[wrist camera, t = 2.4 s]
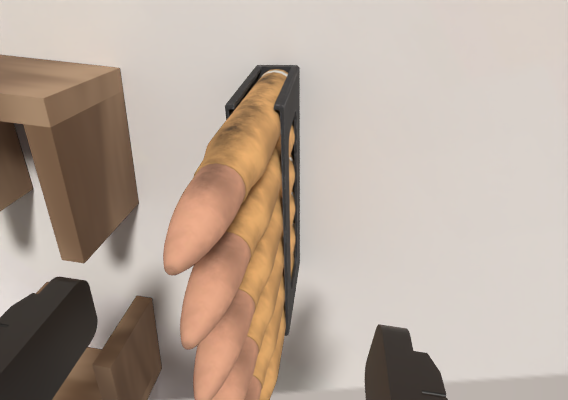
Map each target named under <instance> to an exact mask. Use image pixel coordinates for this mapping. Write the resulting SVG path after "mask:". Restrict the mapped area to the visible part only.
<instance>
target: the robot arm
mask: <svg viewBox="0 0 568 400" xmlns="http://www.w3.org/2000/svg"><path fill="white" fill-rule="evenodd" d="M96 328H97V315H96V311H95V307H94V303H93V299H92V295H91V291H90V287H89V284H88V282H87V281H85V280H78V279H71V278H64V277H56V278H54V279H52V280H51V281H50V282H49V283H48V284H47V285H46V286H45V287H44V288H43V290H42V291H41V292H40V293H39V294H36V293H32V294H30V295H29V296H27V297H26V298H24V299H22V300H21V301H19V302H17V303H16V304H14V305H13V306H11V307H10V308H9V309H8V310H7V311H6V312H5V313H4V314H3V315H2V316H1V317H0V400H52V399H53V397H54V396H55V394H56V393H57V392H58V390H59V389H60V387H61V386H62V384H63V383H64V381H65V380H66V378H67V377H68V375H69V374H70V372H71V371H72V369H73V368H74V366H75V365H76V363H77V362H78V360H79V359H80V357H81V356H82V354H83V353H84V351H85V350H86V348H87V347H88V345H89V344H90V342H91V341H92V339H93V337H94V335H95V332H96ZM365 393H366V400H448V399H447V398H446V392H445V388H444V384H443V380H442V377H441V373H440V371H439V370H438V368H437V367H436V365H435V364H434V362H433V361H432V359H431V358H430V356H429V355H428V353H423V352H416V351H413V347H412V342H411V338H410V333H409V331H408V329H406V328H400V327H393V326H386V325H378V326H377V328H376V331H375V334H374V338H373V341H372V344H371V348H370V351H369V354H368V358H367V361H366V367H365Z"/></svg>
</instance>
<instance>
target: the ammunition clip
mask: <svg viewBox="0 0 568 400" xmlns="http://www.w3.org/2000/svg"><path fill="white" fill-rule="evenodd" d="M225 111H226V122H225V123H224V124H223V125H222V127H221V128H220V129H219V130H218V132H217V133H216V134H215V135H214V137H213V138H212V139H211V141H210V142H209V144H208V146H207V149H206V152H205V156H204V160H203V161H202V163H201V164H200V166H199V167H198V169H197V171H196V172H195V174H194V178H193V179H192V180H191V182H190V183H189V185H188V186H187V188H186V189H185V191H184V192H183V194H182V196H181V198H180V200H179V202H178V204H177V206H176V208H175V210H174V213H173V215H172V218H171V221H170V224H169V227H168V232H167V236H166V240H165V245H164V253H163V261H164V269H165V271H166V273H167V274H169V275H177V274H179V273H181V272H183V271H185V270H187V269H189V268H190V267H192V266H193V265H194V266H193V269H192V272H191V275H190V278H189V281H188V285H187V288H186V292H185V296H184V301H183V306H182V313H181V320H180V333H181V342H182V346H183V347H184V348H185V349H187V350H189V349H193V348H194V347H195V346H197V345H198V346H197V351H196V357H195V366H194V376H193V388H194V398H195V400H270V397H271V395H272V392H273V389H274V387H275V384H276V381H277V377H278V372H279V366H280V360H281V354H282V348H283V342H284V336H287V335H288V334H289V330H290V323H291V317H292V310H293V303H294V297H295V290H296V284H297V277H298V270H299V264H300V138H299V67H298V66H297V65H257V66H256V67H255V68H254V70H253V71H252V72H251V73H250V75H249V76H248V77H247V79H246V80H245V81H244V82H243V84H242V85H241V86H240V87H239V89H238V90H237V91H236V92H235V94H234V95H233V96H232V97H231V99H230V100H229V101H228V102H227V104H226V105H225Z"/></svg>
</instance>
